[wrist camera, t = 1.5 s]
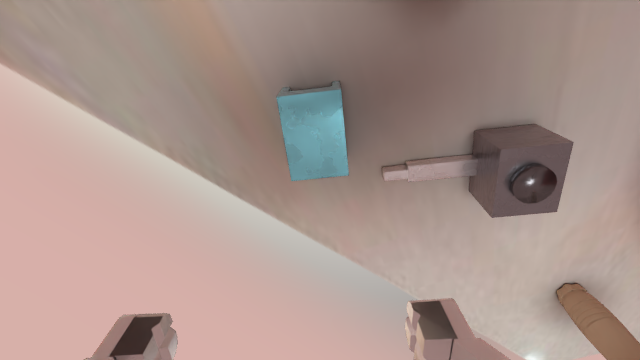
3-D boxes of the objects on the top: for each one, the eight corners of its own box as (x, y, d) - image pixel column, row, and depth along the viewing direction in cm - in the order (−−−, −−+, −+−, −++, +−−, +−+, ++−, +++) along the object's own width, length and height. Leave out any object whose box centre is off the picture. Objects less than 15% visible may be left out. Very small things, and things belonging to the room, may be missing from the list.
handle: (570, 311, 43) (680, 440, 30) (535, 293, 42) (634, 419, 29) (600, 288, 42) (731, 415, 28) (565, 268, 40) (685, 392, 27)
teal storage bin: (282, 87, 31) (276, 97, 27) (339, 80, 31) (341, 89, 27) (295, 162, 35) (291, 181, 31) (346, 157, 34) (348, 175, 30)
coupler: (383, 199, 36) (393, 231, 31) (380, 140, 33) (392, 164, 28) (524, 185, 35) (562, 216, 30) (535, 124, 32) (580, 145, 27)
